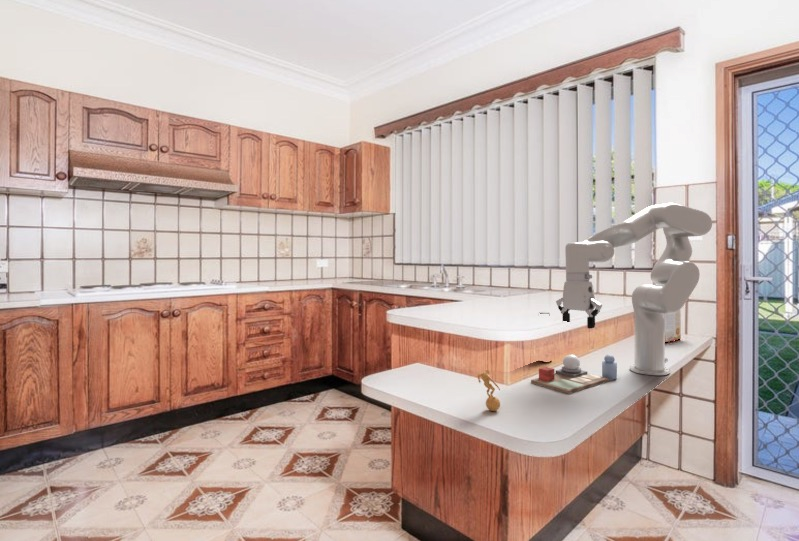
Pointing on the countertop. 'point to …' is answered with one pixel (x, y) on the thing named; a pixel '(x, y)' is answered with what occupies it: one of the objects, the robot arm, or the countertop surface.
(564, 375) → the game board
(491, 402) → the figurine
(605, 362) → the blue stoppered bottle
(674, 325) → the cracker box
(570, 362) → the white ball on base
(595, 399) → the countertop surface
